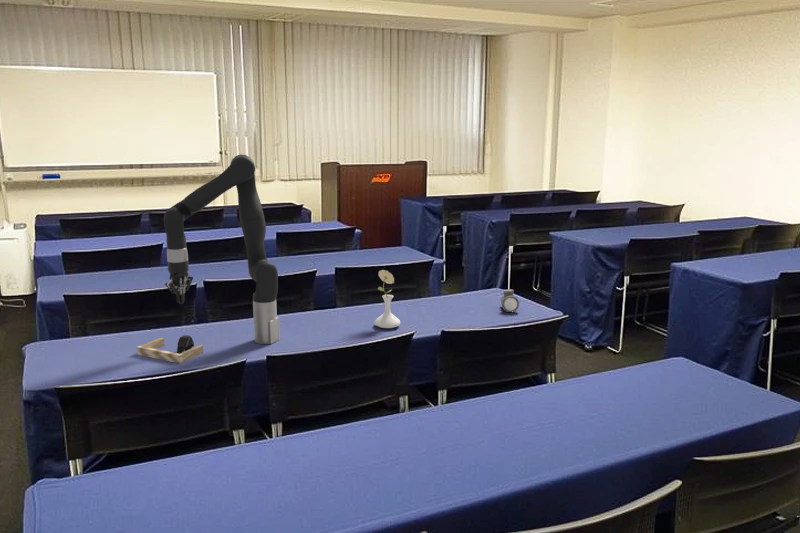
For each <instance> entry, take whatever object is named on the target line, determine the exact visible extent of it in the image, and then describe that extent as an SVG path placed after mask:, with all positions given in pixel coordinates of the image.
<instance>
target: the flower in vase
mask: <svg viewBox="0 0 800 533" xmlns="http://www.w3.org/2000/svg"><path fill="white" fill-rule="evenodd" d="M378 277H379V279H380V280H381V281H382V282H383V284H382V286H378V288H377V290H378V291H379V292H384V294H383V295H381V297H382V298H383V301H384V312H383V313H382V314H381V315H380V316H378V317H377V318H376V319H375V320H374V324H375V326H376V327H378V328H382V329H394V328H396V327H398V326H400V325H401V320H400V319H399V318H398V317H396V315H394V314H393V313H392V311H391V302H392V299H393V298H394V295H393V294H388V293H391V291H393V289H389V290H388V291H386V290H385V288H384V287H385V283H386V284H389V285H392V284H395V277H394V275H393V274H392V273H391V272H389V270H385V269H381V270H379V271H378Z"/></svg>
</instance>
